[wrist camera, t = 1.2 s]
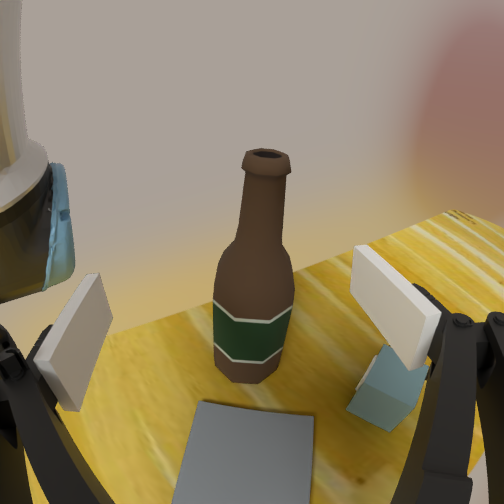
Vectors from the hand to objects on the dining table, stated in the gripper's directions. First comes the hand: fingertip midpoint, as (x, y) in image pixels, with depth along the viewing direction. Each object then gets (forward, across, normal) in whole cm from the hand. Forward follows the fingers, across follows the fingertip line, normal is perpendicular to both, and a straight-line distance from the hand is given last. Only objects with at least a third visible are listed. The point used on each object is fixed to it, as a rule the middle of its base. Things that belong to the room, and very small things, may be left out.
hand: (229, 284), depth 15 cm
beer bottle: (+14, +1, -18) cm, 23 cm away
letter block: (+6, +15, -21) cm, 27 cm away
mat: (+1, 0, -21) cm, 21 cm away
